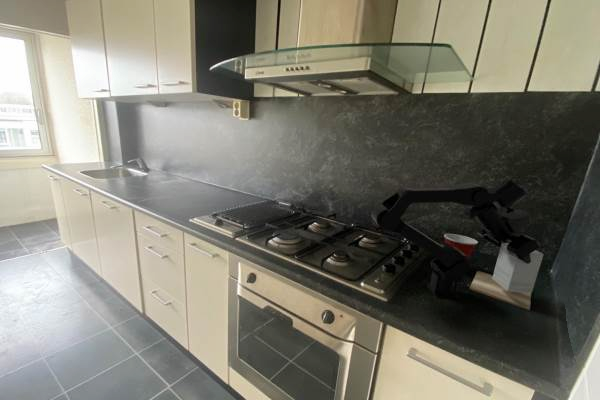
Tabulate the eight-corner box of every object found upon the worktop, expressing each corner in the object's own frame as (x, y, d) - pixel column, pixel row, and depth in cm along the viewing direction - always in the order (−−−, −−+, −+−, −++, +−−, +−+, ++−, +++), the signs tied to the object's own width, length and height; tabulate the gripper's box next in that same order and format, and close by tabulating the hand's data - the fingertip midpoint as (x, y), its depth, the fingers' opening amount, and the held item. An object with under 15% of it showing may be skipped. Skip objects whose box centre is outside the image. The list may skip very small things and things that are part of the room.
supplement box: (532, 293, 80) (545, 254, 77) (506, 291, 80) (518, 252, 77) (514, 280, 87) (525, 243, 84) (491, 278, 87) (501, 241, 84)
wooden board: (529, 310, 78) (530, 307, 78) (469, 288, 87) (469, 286, 87) (530, 289, 89) (531, 287, 89) (477, 272, 98) (477, 270, 98)
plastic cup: (470, 265, 104) (476, 236, 101) (472, 278, 94) (480, 245, 92) (438, 258, 109) (444, 229, 106) (438, 269, 99) (444, 238, 96)
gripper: (543, 210, 68) (573, 254, 71) (493, 193, 86) (519, 229, 89) (503, 237, 70) (535, 279, 73) (463, 215, 88) (489, 249, 91)
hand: (518, 256), depth 81 cm, fingers closed on supplement box, 7 cm apart
